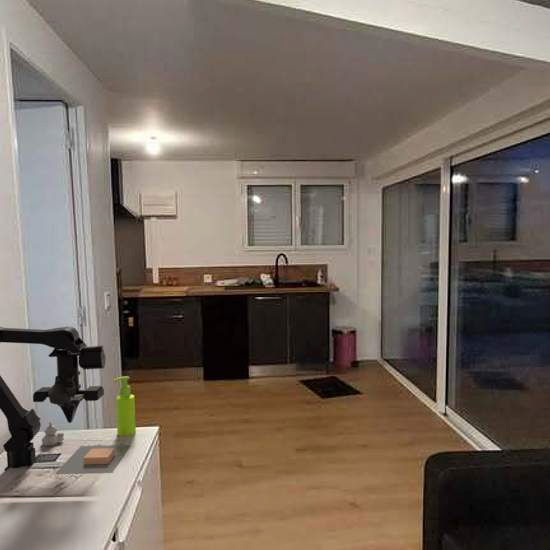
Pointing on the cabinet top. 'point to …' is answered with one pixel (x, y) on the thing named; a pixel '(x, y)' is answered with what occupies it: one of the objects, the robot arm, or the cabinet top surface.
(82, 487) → the cabinet top surface
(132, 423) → the soap dispenser
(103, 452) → the tile
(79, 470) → the slate board
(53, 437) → the grey lumpy pointed piece
